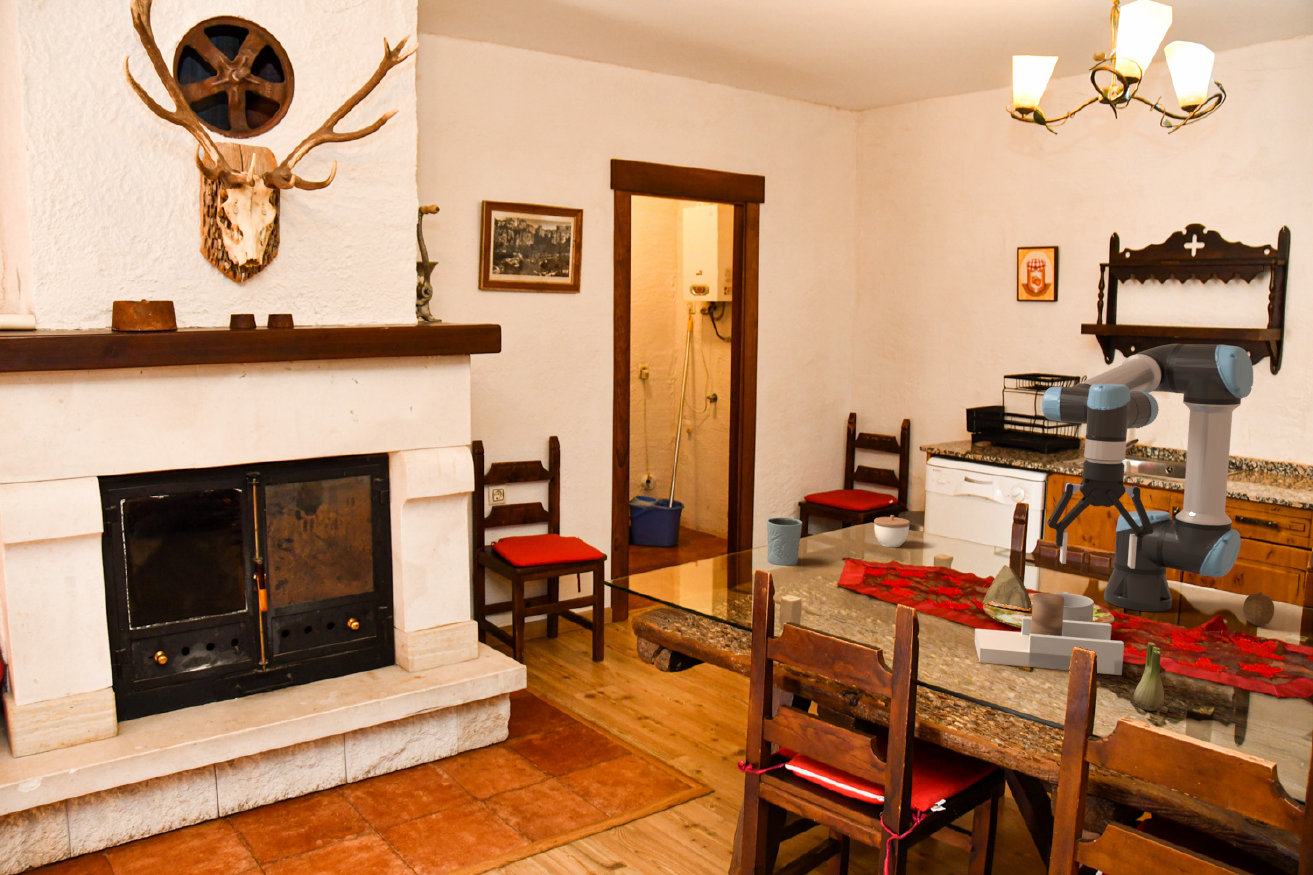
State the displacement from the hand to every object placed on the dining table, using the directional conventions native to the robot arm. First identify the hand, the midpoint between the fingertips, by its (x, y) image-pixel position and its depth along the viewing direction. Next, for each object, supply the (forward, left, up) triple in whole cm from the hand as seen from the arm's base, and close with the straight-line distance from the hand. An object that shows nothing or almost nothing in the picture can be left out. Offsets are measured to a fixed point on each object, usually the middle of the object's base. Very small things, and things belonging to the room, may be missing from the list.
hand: (1096, 564), depth 198 cm
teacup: (+1, -20, -21) cm, 29 cm away
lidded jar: (+40, -94, -21) cm, 104 cm away
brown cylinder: (+9, 0, -18) cm, 20 cm away
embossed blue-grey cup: (+70, -64, -21) cm, 97 cm away
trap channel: (+9, 0, -21) cm, 22 cm away
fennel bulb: (-6, +23, -21) cm, 32 cm away
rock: (+12, -35, -21) cm, 43 cm away
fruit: (-43, -36, -21) cm, 60 cm away
